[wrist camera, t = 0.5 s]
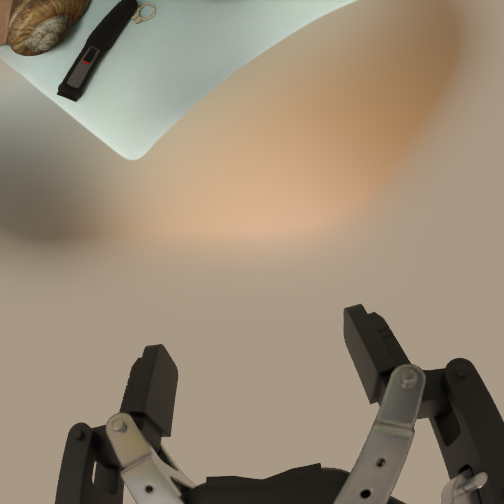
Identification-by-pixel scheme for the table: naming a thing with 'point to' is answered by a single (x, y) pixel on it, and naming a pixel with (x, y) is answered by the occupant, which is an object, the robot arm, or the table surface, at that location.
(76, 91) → the electric trimmer
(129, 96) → the table surface
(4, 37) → the wooden block
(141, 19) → the ring
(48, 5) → the seashell
